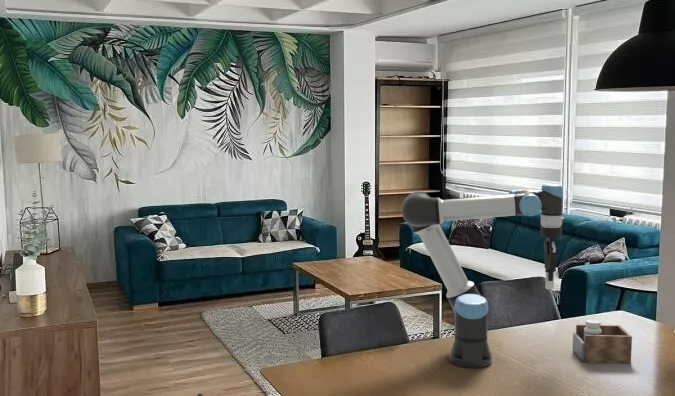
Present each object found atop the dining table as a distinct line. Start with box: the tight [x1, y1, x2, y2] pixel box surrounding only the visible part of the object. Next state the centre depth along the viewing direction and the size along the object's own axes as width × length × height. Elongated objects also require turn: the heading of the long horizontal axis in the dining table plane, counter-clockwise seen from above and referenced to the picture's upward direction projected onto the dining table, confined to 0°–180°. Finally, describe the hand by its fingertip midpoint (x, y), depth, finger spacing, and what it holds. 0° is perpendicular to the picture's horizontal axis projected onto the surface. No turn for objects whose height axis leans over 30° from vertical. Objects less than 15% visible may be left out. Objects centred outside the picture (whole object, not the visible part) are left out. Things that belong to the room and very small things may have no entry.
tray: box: [572, 332, 585, 362], centre depth 264 cm, size 16×13×6 cm
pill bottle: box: [584, 319, 602, 343], centre depth 263 cm, size 6×6×11 cm
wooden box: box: [575, 324, 633, 365], centre depth 263 cm, size 16×14×10 cm
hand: (549, 288), depth 267 cm, fingers closed
